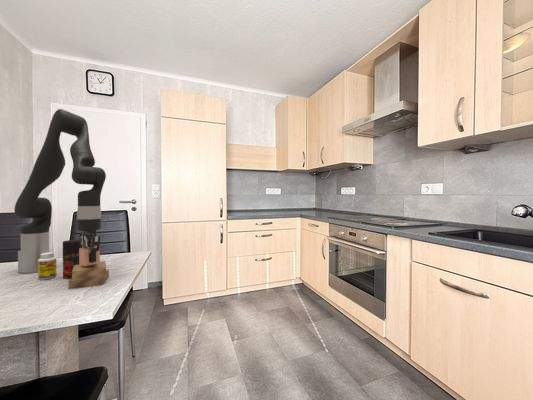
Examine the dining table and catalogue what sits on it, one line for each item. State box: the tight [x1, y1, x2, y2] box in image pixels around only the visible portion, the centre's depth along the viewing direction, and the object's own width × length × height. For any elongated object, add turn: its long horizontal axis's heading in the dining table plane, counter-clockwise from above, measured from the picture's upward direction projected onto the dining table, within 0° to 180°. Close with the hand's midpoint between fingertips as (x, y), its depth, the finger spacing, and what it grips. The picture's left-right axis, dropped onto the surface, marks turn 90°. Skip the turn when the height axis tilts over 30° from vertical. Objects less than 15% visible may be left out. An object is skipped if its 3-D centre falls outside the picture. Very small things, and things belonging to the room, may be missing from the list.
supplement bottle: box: [37, 251, 57, 281], centre depth 95 cm, size 6×6×10 cm
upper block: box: [72, 260, 107, 281], centre depth 90 cm, size 10×10×4 cm
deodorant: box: [62, 239, 80, 280], centre depth 97 cm, size 6×6×15 cm
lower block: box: [68, 269, 110, 290], centre depth 90 cm, size 10×10×4 cm
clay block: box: [79, 247, 101, 266], centre depth 90 cm, size 5×5×6 cm
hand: (89, 261), depth 90 cm, fingers closed on clay block, 5 cm apart
